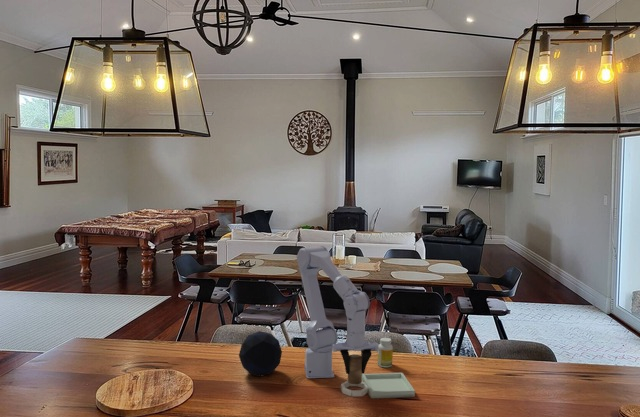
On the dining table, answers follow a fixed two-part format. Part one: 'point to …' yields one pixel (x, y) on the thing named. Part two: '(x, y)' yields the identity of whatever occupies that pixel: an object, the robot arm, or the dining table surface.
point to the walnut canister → (355, 369)
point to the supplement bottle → (385, 353)
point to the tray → (388, 385)
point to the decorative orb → (260, 353)
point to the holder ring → (354, 392)
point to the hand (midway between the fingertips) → (354, 372)
